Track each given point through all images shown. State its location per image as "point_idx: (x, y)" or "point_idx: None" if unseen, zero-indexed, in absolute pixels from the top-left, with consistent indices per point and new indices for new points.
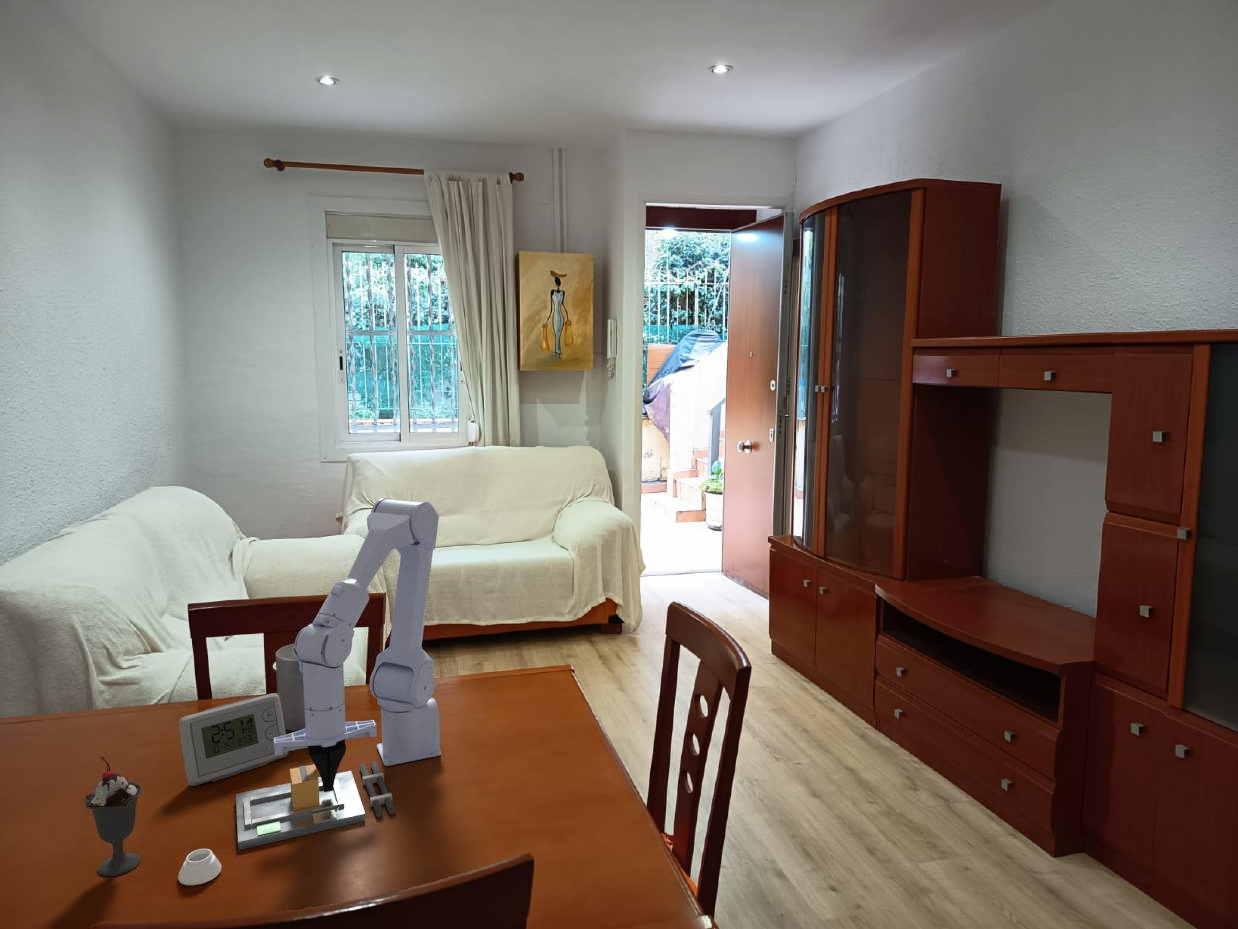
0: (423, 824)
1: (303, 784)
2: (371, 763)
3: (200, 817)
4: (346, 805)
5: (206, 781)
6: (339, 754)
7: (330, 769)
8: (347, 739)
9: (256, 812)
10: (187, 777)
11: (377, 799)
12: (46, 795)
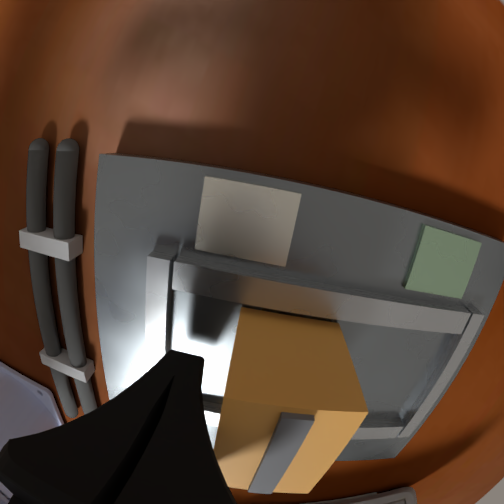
0: (15, 66)
1: (311, 400)
2: (73, 414)
3: (462, 414)
4: (144, 256)
5: (389, 492)
6: (34, 459)
7: (139, 421)
8: (4, 501)
9: (415, 379)
10: (416, 498)
11: (52, 237)
12: (491, 480)
